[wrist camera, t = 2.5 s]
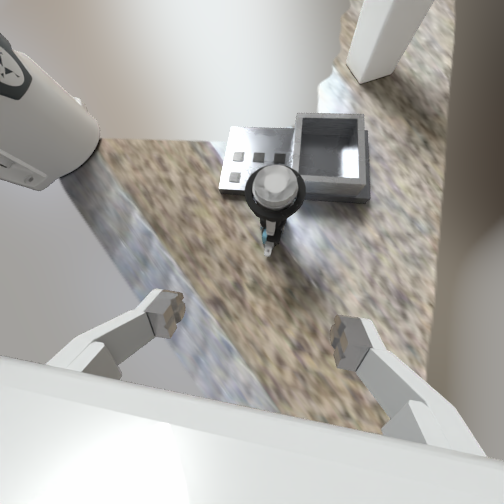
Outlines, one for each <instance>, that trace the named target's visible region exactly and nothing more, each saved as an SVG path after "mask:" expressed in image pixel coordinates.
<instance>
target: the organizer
mask: <svg viewBox="0 0 504 504" xmlns="http://www.w3.org/2000/svg"><path fill="white" fill-rule="evenodd" d="M273 164H279V165H285V166H288V167H290V168H292V169H294V170H295V171H297V172H298V173H299V174H300V175H301V177H302V178H303V180H304V182H305V186H306V195H305V199H306V200H320V201H335V202H349V203H363V204H366V203H367V202H368V201H369V199H370V180H369V151H368V130H364V114H331V113H297V116H296V123H295V129H294V128H256V127H231V130H230V135H229V140H228V145H227V150H226V155H225V160H224V165H223V170H222V174H221V179H220V184H219V191H220V193H221V194H235V195H245V186H246V183H247V180H248V179H249V177H250V176H251V175H252V174H253V173H254V172H255V171H256V170H258V169H260V168H262V167H264V166H267V165H273ZM253 196H254V195H253ZM295 199H296V197H295Z"/></svg>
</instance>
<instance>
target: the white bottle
mask: <svg viewBox="0 0 504 504" xmlns="http://www.w3.org/2000/svg"><path fill="white" fill-rule="evenodd" d="M433 2H434V0H364V2H363V5H362V9H361V12H360V16H359V19H358V23H357V26H356V30H355V33H354V36H353V40H352V43H351V47H350V50H349V54H348V57H347V60H346V64H347V66H348V67H349V69H350V70H351V72H352V73H353V75H354V76H355V78H356V79H357V80H358V82H359V83H360V84H362V83H365V82H368V81H371V80H374V79H378V78H381V77H384V76H387V75H390V74H392V72H393V71H394V69H395V67H396V65H397V64H398V62H399V60H400V59H401V57H402V55H403V53H404V52H405V50H406V48H407V47H408V45H409V43H410V41H411V40H412V38H413V36H414V35H415V33H416V31H417V29H418V28H419V26H420V24H421V23H422V21H423V19H424V17H425V16H426V14H427V12H428V11H429V9H430V7H431V5H432V4H433Z"/></svg>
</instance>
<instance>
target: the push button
mask: <svg viewBox="0 0 504 504" xmlns="http://www.w3.org/2000/svg"><path fill="white" fill-rule="evenodd" d="M253 195H254V197H255V199H256V203H257V204H256V203H255V201H254V200H253ZM305 195H306V186H305V182H304V180H303V178H302V177H301V175H300V174H299V173H298V172H297V171H295V170H294V169H292V168H290V167H288V166H285V165H279V164H273V165H267V166H264V167H262V168H260V169H258V170H256V171H255V172H254V173H253V174H252V175H251V176H250V177H249V179H248V180H247V183H246V186H245V198H246V201H247V204H248V206H249V207H250V209H251V210H252V211H253V212H254V214H255V215H256V216H257V217H259V218H260V223H261V225H260V229H261V230H262V227H264V232H263V235H262V240H263V244H265V252H264V254H265V255H264V256H267V257H270V256H271V251H272V249H273V247H274V246H276V244H279V241H280V235H281V230H283V231H284V226H285V223H286V219H287V218H288V217H290V216H291V215H292V214H294V213H295V212H296V211H297V210H298V209H299V208H300V207H301V205H302V204H303V201H304V199H305ZM295 197H296V201H295V202H294V204H293V200H294V199H295ZM292 204H293V205H292ZM282 234H283V233H282ZM267 251H269V252H267Z"/></svg>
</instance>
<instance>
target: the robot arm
mask: <svg viewBox="0 0 504 504" xmlns="http://www.w3.org/2000/svg"><path fill="white" fill-rule="evenodd" d="M99 137H100V127H99V124H98V122H97V121H96V119H95V118H94V117H93V116H91V115H90V114H89V113H88V112H87V108H86V105H85V104H84V103H83V102H82V101H81V100H80V99H79V98H73V97H72V96H70V94H68V93H67V92H66V91H65V90H64V89H63V88H62V87H61V86H60V85H59V84H58V83H57V82H56V81H54V80H53V79H52V78H51V77H50V76H49V75H48V74H47V73H46V72H45V71H44V70H43V69H42V68H40V67H39V66H38V65H37V64H36V63H35V62H34V61H33V60H32V59H31V58H29V57H28V56H27V55H25V54H24V53H21V52H18V51H15V50H13V49H12V48H11V45H10V43H9V41H8V40H7V39H6V38H5V37H4V36H3V35H2V34H1V33H0V179H1V180H4V181H8V182H11V183H14V184H18V185H21V186H24V187H27V188H31V189H33V190H37V191H41V190H43V189H45V188H47V187H48V186H49V185H50V184H52V183H53V182H54V181H55V180H56V179H58V178H59V177H61V176H63V175H66V174H68V173H70V172H72V171H73V170H75V169H76V168H78V167H79V166H80V165H82V164H83V163H84V162H85V161H86V160H87V159H88V158H89V157H90V155H91V154H92V153H93V151H94V150H95V148H96V146H97V144H98V141H99ZM183 298H184V297H183V293H180V292H175V291H169V290H162V289H153V290H152V291H151V292H150V293H149V294H148V295H147V296H146V298H145V299H144V300H143V301H142V302H141V303H140V304H139V305H138V306H137V307H136V308H135V310H130V311H128V312H126V313H124V314H121V315H120V316H117V317H115V318H113V319H111V320H109V321H107V322H105V323H103V324H101V325H99V326H97V327H95V328H92V329H91V330H89V331H87V332H84V333H82V334H80V335H78V336H76V337H75V338H74V339H73V340H71V341H70V342H69V343H68V344H67V345H66V346H65V347H64V348H62V350H60V351H59V352H58V353H57V354H56V355H55V356H54V357H53V358H51V359H50V360H49V361H48V362H47V363H46V364H40V363H36V362H31V361H26V360H21V359H16V358H11V357H7V356H2V355H0V504H504V461H503V460H498V459H494V458H489V457H487V456H486V454H485V453H484V451H483V450H482V448H481V447H480V445H479V444H478V442H477V441H476V439H475V438H474V436H473V434H472V433H471V431H470V430H469V428H468V427H467V425H466V424H465V422H464V421H463V419H462V418H461V416H460V414H459V413H458V411H457V410H456V408H455V407H454V406H453V405H452V404H450V403H449V402H448V401H447V400H446V399H445V398H444V397H442V396H441V395H440V394H439V393H438V392H437V391H435V390H434V389H433V388H432V387H431V386H430V385H429V384H428V383H426V382H425V381H424V380H423V379H422V378H421V377H419V376H418V375H417V374H416V373H415V372H414V371H413V370H411V369H410V368H409V367H408V366H407V365H406V364H405V363H403V362H402V361H401V360H400V359H399V358H398V357H397V356H395V355H394V354H393V353H392V352H391V351H387V349H386V348H385V346H384V344H383V342H382V340H381V338H380V336H379V334H378V332H377V330H376V328H375V326H374V324H373V322H372V321H371V320H370V319H366V318H358V317H351V316H343V315H336V316H335V319H334V321H335V324H334V325H332V327H331V330H330V341H331V345H332V346H333V348H334V349H335V351H334V358H335V363H336V367H337V368H340V369H345V370H350V371H355V372H356V374H357V375H358V376H359V378H360V379H361V380H362V382H363V383H364V384H365V386H366V387H367V388H368V390H369V391H370V392H371V394H372V395H373V396H374V398H375V399H376V400H377V402H378V403H379V404H380V405H381V407H382V408H383V409H384V411H385V412H386V413H387V415H388V416H389V417H390V420H389V421H388V422H387V423H386V424H385V425H384V426H383V427H382V429H381V430H382V433H383V435H379V434H374V433H370V432H365V431H360V430H355V429H351V428H346V427H341V426H336V425H332V424H327V423H322V422H317V421H313V420H308V419H303V418H298V417H293V416H289V415H284V414H279V413H274V412H270V411H265V410H260V409H255V408H251V407H246V406H241V405H236V404H232V403H227V402H222V401H217V400H212V399H208V398H203V397H198V396H193V395H188V394H184V393H179V392H174V391H169V390H165V389H160V388H155V387H150V386H146V385H141V384H136V383H131V382H126V381H122V380H120V378H121V377H122V372H121V370H120V369H119V367H118V365H119V364H120V363H121V362H123V361H124V360H126V359H127V358H128V357H130V356H131V355H132V354H134V353H135V352H136V351H137V350H139V349H140V348H141V347H143V346H144V345H146V344H147V343H148V342H149V341H151V340H152V339H154V338H155V337H162V338H169V339H170V338H171V337H172V335H173V333H174V332H175V330H176V328H177V325H176V324H177V323H178V322H180V321H181V320H182V318H183V317H184V313H185V303H184V302H183V301H182V300H183Z"/></svg>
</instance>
